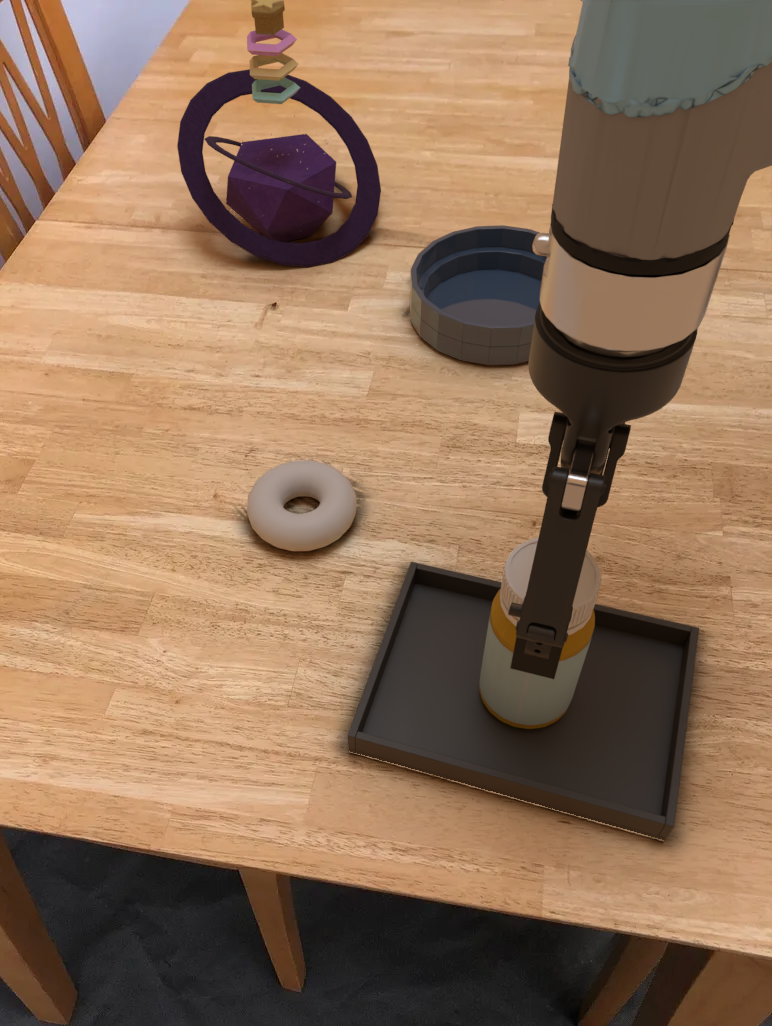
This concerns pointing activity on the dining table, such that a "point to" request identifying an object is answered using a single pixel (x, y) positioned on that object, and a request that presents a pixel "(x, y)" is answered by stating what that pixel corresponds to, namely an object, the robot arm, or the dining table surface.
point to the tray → (541, 751)
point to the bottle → (501, 687)
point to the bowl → (478, 294)
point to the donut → (304, 527)
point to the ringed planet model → (278, 160)
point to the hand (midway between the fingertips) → (553, 585)
